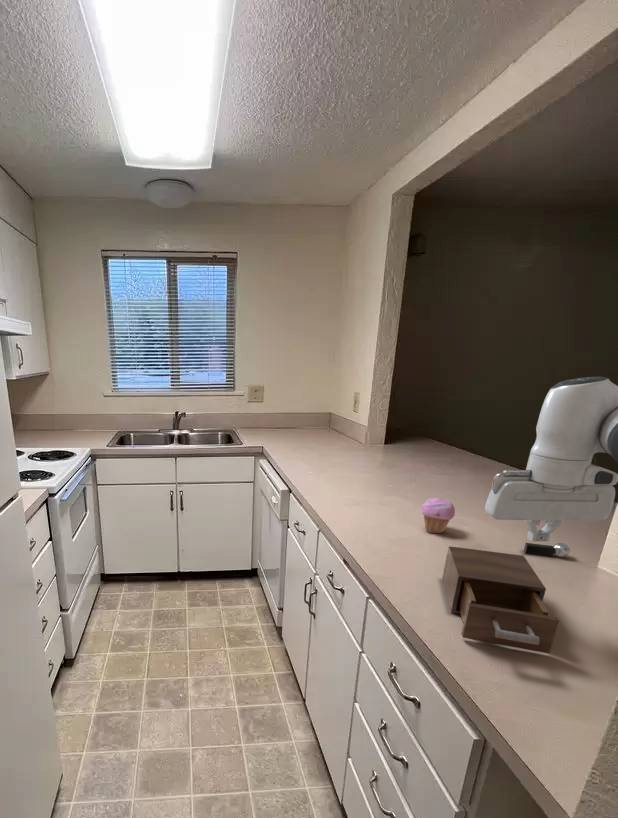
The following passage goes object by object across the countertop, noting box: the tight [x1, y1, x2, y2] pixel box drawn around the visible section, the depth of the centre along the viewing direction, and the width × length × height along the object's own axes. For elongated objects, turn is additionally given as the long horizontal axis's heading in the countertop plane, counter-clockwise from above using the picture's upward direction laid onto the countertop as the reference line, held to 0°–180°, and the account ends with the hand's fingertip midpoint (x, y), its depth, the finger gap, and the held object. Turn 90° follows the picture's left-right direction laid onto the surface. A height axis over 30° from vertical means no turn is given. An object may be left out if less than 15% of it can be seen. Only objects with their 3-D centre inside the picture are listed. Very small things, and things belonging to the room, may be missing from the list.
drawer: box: [457, 580, 560, 654], centre depth 80 cm, size 18×13×7 cm
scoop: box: [523, 542, 571, 558], centre depth 112 cm, size 4×9×4 cm, turn 70°
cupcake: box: [420, 497, 456, 534], centre depth 126 cm, size 9×9×10 cm
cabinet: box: [441, 545, 547, 616], centre depth 91 cm, size 15×15×9 cm
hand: (537, 540), depth 83 cm, fingers closed
